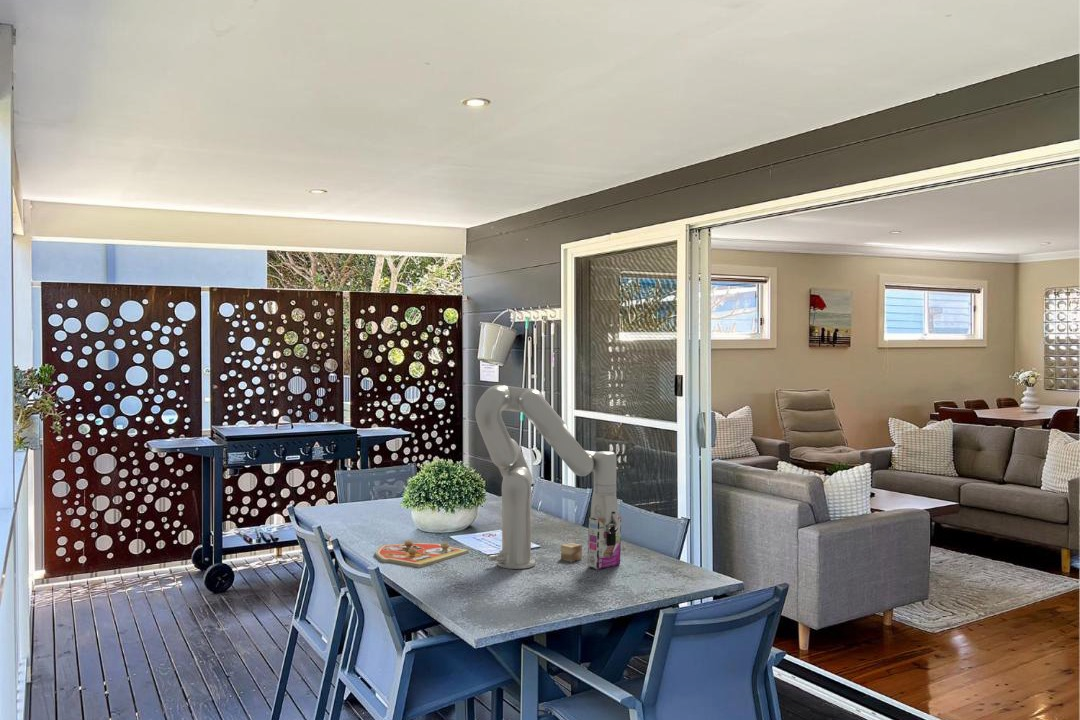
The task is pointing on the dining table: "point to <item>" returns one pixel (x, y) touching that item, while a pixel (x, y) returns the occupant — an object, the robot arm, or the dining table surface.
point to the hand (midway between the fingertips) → (604, 542)
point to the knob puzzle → (417, 553)
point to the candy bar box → (602, 545)
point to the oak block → (571, 551)
